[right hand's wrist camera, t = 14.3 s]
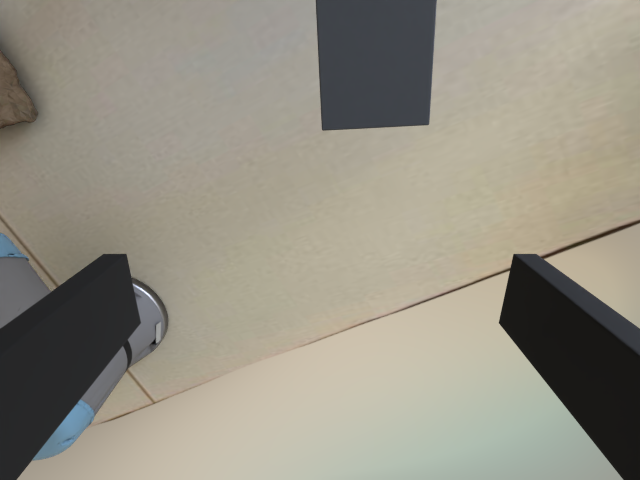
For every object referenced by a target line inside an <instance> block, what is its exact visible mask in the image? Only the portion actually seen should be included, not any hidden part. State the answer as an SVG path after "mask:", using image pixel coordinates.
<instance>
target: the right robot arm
mask: <svg viewBox="0 0 640 480" xmlns="http://www.w3.org/2000/svg"><path fill="white" fill-rule="evenodd" d="M28 261H29V258H28V257H27V256H26V255H24V254H22V253H21V252H20V251H19V249H18V248H17V247H16V246H15V245H14V244H13V242H12V241H11V240H10V239H9V238H8V237H7V236H6V235H4V234H2V233H0V480H17V478H18V477H19V476H20V475H21V473H22V472H23V471H24V470H25V468H26V467H27V466H28V465H29V463H30V462H31V461H32V460H41V459H46V458H49V457H52V456H55V455H57V454H59V453H61V452H63V451H65V450H66V449H67V448H69V447H70V446H71V445H72V444H73V443H74V442H75V441H76V439H77V438H78V437H79V436H80V435H81V433H82V432H83V431H84V430H85V429H86V427H88V426H89V425H90V424H91V423H92V421H93V419H94V416H95V415H96V413H97V412H98V411H99V409H100V408H101V406H102V405H103V403H104V402H105V401H106V399H107V398H108V396H109V395H110V393H111V392H112V391H113V389H114V388H115V386H116V385H117V383H118V382H119V381H120V379H121V378H122V376H123V375H124V373H125V372H126V371H127V369H128V368H129V367H130V366H132V365H133V364H135V363H136V362H138V361H139V360H141V359H142V358H144V357H145V356H147V355H148V354H150V353H151V352H152V351H154V350H155V349H156V348H157V347H158V345H159V344H160V342H161V341H162V339H163V338H164V336H165V334H166V332H167V328H168V315H167V311H166V309H165V306H164V304H163V302H162V301H161V299H160V298H159V297H158V295H157V294H156V293H155V292H154V291H153V290H152V289H150V288H149V287H148V286H146V285H145V284H143V283H142V282H140V281H138V280H136V279H133V278H131V274H130V269H129V264H128V260H127V255H126V254H103V255H102V256H100V257H99V258H98V259H96V260H95V261H93V262H92V263H91V264H89V265H88V266H86V267H85V268H84V269H82V270H81V271H80V272H78V273H77V274H75V275H74V276H73V277H71V278H70V279H68V280H67V281H66V282H64V283H63V284H62V285H60V286H59V287H57V288H56V289H55V290H53V291H52V292H51V291H50V290H49V289H48V287H47V286H46V285H45V283H44V282H43V281H42V279H41V278H40V277H39V276H38V274H37V273H36V272H35V270H34V269H33V268H32V266H31V265H30V264H29V262H28ZM499 324H500V325H501V326H502V327H503V329H504V330H505V331H506V332H507V334H508V335H509V336H510V337H511V339H512V340H513V341H514V343H515V344H516V345H517V346H518V347H519V349H520V350H521V351H522V353H523V354H524V355H525V356H526V358H527V359H528V360H529V361H530V363H531V364H532V365H533V366H534V368H535V369H536V370H537V371H538V373H539V374H540V375H541V376H542V378H543V379H544V380H545V382H546V383H547V384H548V385H549V387H550V388H551V389H552V390H553V392H554V393H555V394H556V395H557V397H558V398H559V399H560V400H561V402H562V403H563V404H564V405H565V407H566V408H567V409H568V410H569V412H570V413H571V414H572V415H573V417H574V418H575V419H576V421H577V422H578V423H579V424H580V426H581V427H582V428H583V429H584V431H585V432H586V433H587V434H588V436H589V437H590V438H591V439H592V441H593V442H594V443H595V444H596V446H597V447H598V448H599V449H600V451H601V452H602V453H603V454H604V456H605V457H606V458H607V459H608V461H609V462H610V463H611V465H612V466H613V467H614V468H615V470H616V471H617V472H618V473H619V475H620V476H621V477H622V478H623V480H640V329H639V328H638V327H637V326H635V325H634V324H632V323H631V322H630V321H628V320H627V319H625V318H624V317H623V316H621V315H620V314H619V313H617V312H616V311H614V310H613V309H612V308H610V307H609V306H608V305H606V304H605V303H603V302H602V301H601V300H599V299H598V298H596V297H595V296H594V295H592V294H591V293H590V292H588V291H587V290H585V289H584V288H583V287H581V286H580V285H578V284H577V283H576V282H574V281H573V280H572V279H570V278H569V277H567V276H566V275H565V274H563V273H562V272H560V271H559V270H558V269H556V268H555V267H554V266H552V265H551V264H549V263H548V262H547V261H545V260H544V259H542V258H541V257H540V256H538V255H537V254H514V255H513V260H512V264H511V269H510V274H509V278H508V283H507V288H506V292H505V297H504V302H503V306H502V311H501V316H500V320H499Z"/></svg>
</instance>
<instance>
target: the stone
mask: <svg viewBox="0 0 640 480" xmlns="http://www.w3.org/2000/svg"><path fill="white" fill-rule="evenodd" d="M37 115H38V112H37V110H36V109H35V107H34V105H33V103H32V100H31V99H30V97H29V96H28V94H27V93H26V92H25V90H24V89H23V88H22V87H21V85H20V82H19V79H18V77H17V71H16V69H15V68H14V67H13V66H12V64H11V63H10V62H9V60H8V59H7V58H6V57H5V56H4V55H3V53H2V52H1V50H0V128H4V127H5V126H9V125H14V124H16V123H20V122H23V121H26V122H34V121H35V120H36V117H37Z"/></svg>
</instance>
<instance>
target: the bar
mask: <svg viewBox="0 0 640 480" xmlns="http://www.w3.org/2000/svg"><path fill="white" fill-rule="evenodd" d="M436 3H437V0H316V14H317V35H318V56H319V77H320V98H321V119H322V130H323V131H324V130H343V129H362V128H381V127H400V126H419V125H429V118H430V102H431V85H432V69H433V52H434V36H435V19H436Z"/></svg>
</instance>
